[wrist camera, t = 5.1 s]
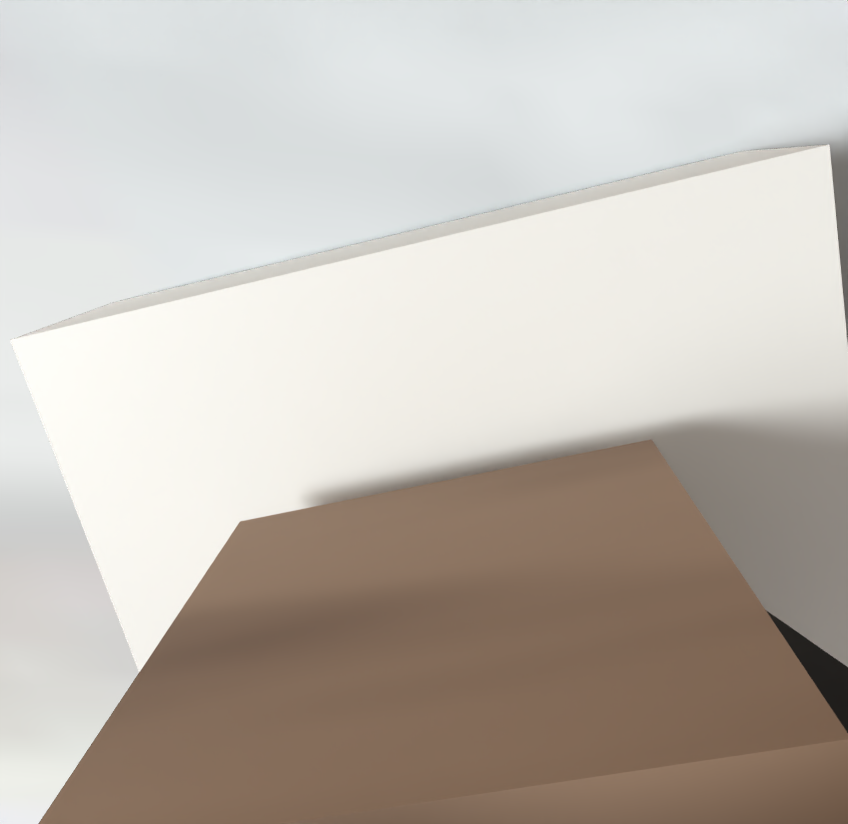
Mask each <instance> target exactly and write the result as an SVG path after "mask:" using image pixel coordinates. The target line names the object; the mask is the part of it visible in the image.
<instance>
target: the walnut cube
mask: <svg viewBox="0 0 848 824" xmlns="http://www.w3.org/2000/svg"><path fill="white" fill-rule="evenodd" d="M39 824H848V733H847V731H846V730H845V728H844V727H843V725H842V724H841V722H840V721H839V719H838V718H837V716H836V715H835V713H834V712H833V710H832V709H831V707H830V706H829V704H828V703H827V701H826V700H825V698H824V697H823V695H822V694H821V692H820V691H819V689H818V688H817V686H816V685H815V683H814V682H813V680H812V679H811V677H810V676H809V674H808V673H807V671H806V670H805V668H804V667H803V665H802V664H801V662H800V661H799V659H798V658H797V656H796V655H795V653H794V652H793V650H792V649H791V647H790V646H789V644H788V643H787V641H786V640H785V638H784V637H783V635H782V634H781V632H780V631H779V629H778V628H777V626H776V625H775V623H774V622H773V620H772V619H771V617H770V616H769V614H768V613H767V611H766V610H765V608H764V607H763V605H762V604H761V602H760V601H759V599H758V598H757V596H756V595H755V593H754V592H753V590H752V589H751V587H750V586H749V584H748V583H747V581H746V580H745V578H744V577H743V575H742V574H741V572H740V571H739V570H738V568H737V567H736V565H735V564H734V562H733V561H732V559H731V558H730V556H729V555H728V553H727V552H726V550H725V549H724V547H723V546H722V544H721V543H720V541H719V540H718V538H717V537H716V535H715V534H714V532H713V531H712V529H711V528H710V526H709V525H708V523H707V522H706V520H705V519H704V517H703V516H702V514H701V513H700V511H699V510H698V508H697V507H696V505H695V504H694V502H693V501H692V499H691V498H690V496H689V495H688V493H687V492H686V490H685V489H684V487H683V486H682V484H681V483H680V481H679V480H678V478H677V477H676V475H675V474H674V472H673V471H672V469H671V468H670V466H669V465H668V463H667V462H666V460H665V459H664V457H663V456H662V454H661V453H660V451H659V450H658V448H657V447H656V445H655V444H654V442H653V441H652V439H650V440H645V441H640V442H635V443H630V444H625V445H620V446H615V447H610V448H605V449H600V450H595V451H590V452H585V453H580V454H575V455H570V456H565V457H560V458H555V459H550V460H545V461H540V462H535V463H530V464H525V465H520V466H515V467H510V468H505V469H500V470H495V471H490V472H485V473H480V474H475V475H470V476H465V477H460V478H455V479H450V480H445V481H440V482H435V483H430V484H425V485H420V486H415V487H410V488H405V489H400V490H395V491H390V492H385V493H380V494H375V495H370V496H365V497H360V498H355V499H350V500H345V501H340V502H335V503H330V504H325V505H320V506H315V507H310V508H305V509H300V510H295V511H290V512H285V513H280V514H275V515H270V516H265V517H260V518H255V519H250V520H245V521H240V522H239V524H238V525H237V527H236V528H235V530H234V531H233V533H232V534H231V536H230V537H229V539H228V540H227V542H226V543H225V545H224V546H223V548H222V549H221V551H220V552H219V554H218V555H217V557H216V558H215V560H214V561H213V563H212V564H211V566H210V567H209V569H208V570H207V572H206V573H205V575H204V576H203V578H202V579H201V581H200V582H199V584H198V585H197V587H196V588H195V590H194V591H193V593H192V594H191V596H190V597H189V599H188V600H187V602H186V603H185V605H184V606H183V608H182V609H181V611H180V612H179V614H178V615H177V617H176V618H175V620H174V621H173V623H172V624H171V626H170V627H169V629H168V630H167V632H166V633H165V635H164V636H163V638H162V639H161V641H160V642H159V644H158V645H157V647H156V648H155V650H154V651H153V653H152V654H151V656H150V657H149V659H148V660H147V662H146V663H145V665H144V666H143V668H142V669H141V671H140V672H139V674H138V675H137V677H136V678H135V680H134V681H133V683H132V684H131V686H130V687H129V689H128V690H127V692H126V693H125V695H124V696H123V698H122V699H121V701H120V702H119V704H118V705H117V707H116V708H115V710H114V711H113V713H112V714H111V716H110V717H109V719H108V720H107V722H106V723H105V725H104V726H103V728H102V729H101V731H100V732H99V734H98V735H97V737H96V738H95V740H94V741H93V743H92V744H91V746H90V747H89V749H88V750H87V752H86V753H85V755H84V756H83V758H82V759H81V761H80V762H79V764H78V765H77V767H76V768H75V770H74V771H73V773H72V774H71V776H70V777H69V779H68V780H67V782H66V783H65V785H64V786H63V788H62V789H61V791H60V792H59V794H58V795H57V797H56V798H55V800H54V801H53V803H52V804H51V806H50V807H49V809H48V810H47V812H46V813H45V815H44V816H43V818H42V819H41V821H40V822H39Z"/></svg>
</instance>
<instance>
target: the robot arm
mask: <svg viewBox="0 0 848 824" xmlns="http://www.w3.org/2000/svg"><path fill="white" fill-rule="evenodd" d="M767 613H768V614H769V616H770V617H771V619H772V620H773V622H774V623H775V625H776V626H777V628H778V629H779V631H780V632H781V634H782V635H783V637H784V638H785V640H786V641H787V643H788V644H789V646H790V647H791V649H792V650H793V652H794V653H795V655H796V656H797V658H798V659H799V661H800V662H801V664H802V665H803V667H804V668H805V670H806V671H807V673H808V674H809V676H810V677H811V679H812V680H813V682H814V683H815V685H816V686H817V688H818V689H819V691H820V692H821V694H822V695H823V697H824V698H825V700H826V701H827V703H828V704H829V706H830V707H831V709H832V710H833V712H834V713H835V715H836V716H837V718H838V719H839V721H840V722H841V724H842V725H843V727H844V728H845V730H846V731H847V733H848V667H847V666H846V665H844V664H843V663H841V662H840V661H838V660H837V659H836V658H834V657H833V656H831V655H830V654H828V653H827V652H825V651H824V650H823V649H821V648H820V647H818V646H817V645H815V644H814V643H813V642H811V641H810V640H808V639H807V638H805V637H804V636H803V635H801V634H800V633H798V632H797V631H795V630H794V629H793V628H791V627H790V626H788V625H787V624H785V623H784V622H783V621H781V620H780V619H778V618H777V617H775V616H774V615H772V614H771V613H769V612H768V611H767Z"/></svg>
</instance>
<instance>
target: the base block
mask: <svg viewBox="0 0 848 824" xmlns="http://www.w3.org/2000/svg"><path fill="white" fill-rule="evenodd" d="M10 341H11V344H12V347H13V349H14V352H15V354H16V357H17V359H18V362H19V365H20V367H21V370H22V372H23V375H24V377H25V380H26V383H27V385H28V388H29V390H30V393H31V395H32V398H33V401H34V403H35V406H36V408H37V411H38V413H39V416H40V419H41V421H42V424H43V426H44V429H45V431H46V434H47V437H48V439H49V442H50V444H51V447H52V449H53V452H54V455H55V457H56V460H57V462H58V465H59V467H60V470H61V473H62V475H63V478H64V480H65V483H66V485H67V488H68V490H69V493H70V496H71V498H72V501H73V503H74V506H75V508H76V511H77V514H78V516H79V519H80V521H81V524H82V526H83V529H84V532H85V534H86V537H87V539H88V542H89V544H90V547H91V550H92V552H93V555H94V557H95V560H96V562H97V565H98V568H99V570H100V573H101V575H102V578H103V580H104V583H105V586H106V588H107V591H108V593H109V596H110V598H111V601H112V604H113V606H114V609H115V611H116V614H117V616H118V619H119V622H120V624H121V627H122V629H123V632H124V634H125V637H126V640H127V642H128V645H129V647H130V650H131V652H132V655H133V658H134V660H135V663H136V665H137V668H138V670H139V672H140V671H141V669H142V668H143V666H144V665H145V663H146V662H147V660H148V659H149V657H150V656H151V654H152V653H153V651H154V650H155V648H156V647H157V645H158V644H159V642H160V641H161V639H162V638H163V636H164V635H165V633H166V632H167V630H168V629H169V627H170V626H171V624H172V623H173V621H174V620H175V618H176V617H177V615H178V614H179V612H180V611H181V609H182V608H183V606H184V605H185V603H186V602H187V600H188V599H189V597H190V596H191V594H192V593H193V591H194V590H195V588H196V587H197V585H198V584H199V582H200V581H201V579H202V578H203V576H204V575H205V573H206V572H207V570H208V569H209V567H210V566H211V564H212V563H213V561H214V560H215V558H216V557H217V555H218V554H219V552H220V551H221V549H222V548H223V546H224V545H225V543H226V542H227V540H228V539H229V537H230V536H231V534H232V533H233V531H234V530H235V528H236V527H237V525H238V524H239V522H240V521H245V520H250V519H255V518H260V517H265V516H270V515H275V514H280V513H285V512H290V511H295V510H300V509H305V508H310V507H315V506H320V505H325V504H330V503H335V502H340V501H345V500H350V499H355V498H360V497H365V496H370V495H375V494H380V493H385V492H390V491H395V490H400V489H405V488H410V487H415V486H420V485H425V484H430V483H435V482H440V481H445V480H450V479H455V478H460V477H465V476H470V475H475V474H480V473H485V472H490V471H495V470H500V469H505V468H510V467H515V466H520V465H525V464H530V463H535V462H540V461H545V460H550V459H555V458H560V457H565V456H570V455H575V454H580V453H585V452H590V451H595V450H600V449H605V448H610V447H615V446H620V445H625V444H630V443H635V442H640V441H645V440H650V439H652V441H653V442H654V444H655V445H656V447H657V448H658V450H659V451H660V453H661V454H662V456H663V457H664V459H665V460H666V462H667V463H668V465H669V466H670V468H671V469H672V471H673V472H674V474H675V475H676V477H677V478H678V480H679V481H680V483H681V484H682V486H683V487H684V489H685V490H686V492H687V493H688V495H689V496H690V498H691V499H692V501H693V502H694V504H695V505H696V507H697V508H698V510H699V511H700V513H701V514H702V516H703V517H704V519H705V520H706V522H707V523H708V525H709V526H710V528H711V529H712V531H713V532H714V534H715V535H716V537H717V538H718V540H719V541H720V543H721V544H722V546H723V547H724V549H725V550H726V552H727V553H728V555H729V556H730V558H731V559H732V561H733V562H734V564H735V565H736V567H737V568H738V570H739V571H740V572H741V574H742V575H743V577H744V578H745V580H746V581H747V583H748V584H749V586H750V587H751V589H752V590H753V592H754V593H755V595H756V596H757V598H758V599H759V601H760V602H761V604H762V605H763V607H764V608H765V610H766V611H768V612H769V613H771V614H772V615H774V616H775V617H777V618H778V619H780V620H781V621H783V622H784V623H785V624H787V625H788V626H790V627H791V628H793V629H794V630H795V631H797V632H798V633H800V634H801V635H803V636H804V637H805V638H807V639H808V640H810V641H811V642H813V643H814V644H815V645H817V646H818V647H820V648H821V649H823V650H824V651H825V652H827V653H828V654H830V655H831V656H833V657H834V658H836V659H837V660H838V661H840V662H841V663H843V664H844V665H846V666H847V667H848V344H847V333H846V322H845V310H844V299H843V288H842V277H841V266H840V255H839V244H838V233H837V222H836V211H835V200H834V189H833V178H832V167H831V155H830V145H816V146H803V147H790V148H776V149H763V150H750V151H740V152H736V153H732V154H727V155H723V156H719V157H715V158H711V159H707V160H703V161H698V162H694V163H690V164H686V165H682V166H678V167H673V168H669V169H665V170H661V171H657V172H653V173H648V174H644V175H640V176H636V177H632V178H628V179H624V180H619V181H615V182H611V183H607V184H603V185H599V186H594V187H590V188H586V189H582V190H578V191H574V192H570V193H565V194H561V195H557V196H553V197H549V198H545V199H540V200H536V201H532V202H528V203H524V204H520V205H516V206H511V207H507V208H503V209H499V210H495V211H491V212H486V213H482V214H478V215H474V216H470V217H466V218H461V219H457V220H453V221H449V222H445V223H441V224H437V225H432V226H428V227H424V228H420V229H416V230H412V231H407V232H403V233H399V234H395V235H391V236H387V237H383V238H378V239H374V240H370V241H366V242H362V243H358V244H353V245H349V246H345V247H341V248H337V249H333V250H329V251H324V252H320V253H316V254H312V255H308V256H304V257H299V258H295V259H291V260H287V261H283V262H279V263H275V264H270V265H266V266H262V267H258V268H254V269H250V270H245V271H241V272H237V273H233V274H229V275H225V276H220V277H216V278H212V279H208V280H204V281H200V282H196V283H191V284H187V285H183V286H179V287H175V288H171V289H166V290H162V291H158V292H154V293H150V294H146V295H142V296H137V297H133V298H129V299H125V300H121V301H117V302H113V303H110V304H107V305H104V306H102V307H99V308H96V309H94V310H91V311H88V312H85V313H83V314H80V315H77V316H74V317H72V318H69V319H66V320H63V321H61V322H58V323H55V324H52V325H50V326H47V327H44V328H41V329H39V330H36V331H33V332H30V333H28V334H25V335H22V336H19V337H17V338H14V339H11V340H10Z"/></svg>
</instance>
